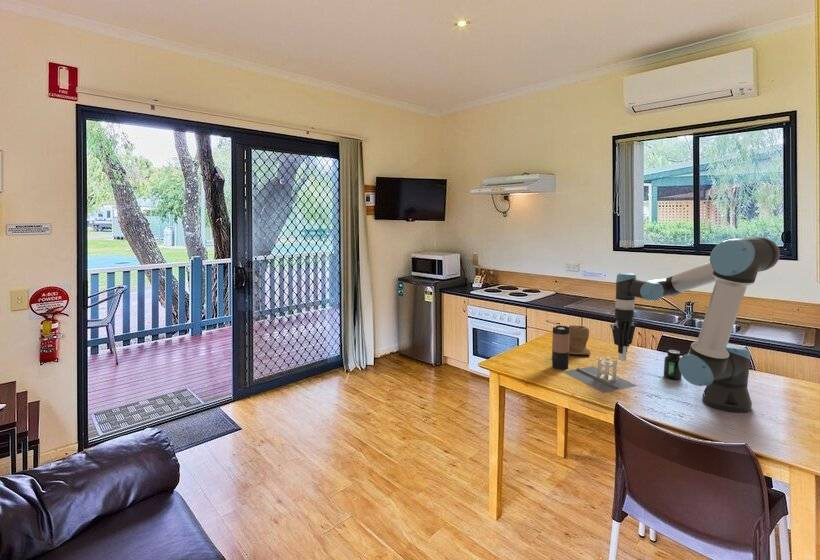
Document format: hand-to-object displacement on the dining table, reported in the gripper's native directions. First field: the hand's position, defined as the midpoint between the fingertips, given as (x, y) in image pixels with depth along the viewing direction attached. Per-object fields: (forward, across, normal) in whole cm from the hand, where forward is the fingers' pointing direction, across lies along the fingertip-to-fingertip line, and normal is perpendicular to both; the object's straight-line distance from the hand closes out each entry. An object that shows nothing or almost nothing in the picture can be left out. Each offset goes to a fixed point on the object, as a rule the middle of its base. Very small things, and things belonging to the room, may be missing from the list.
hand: (622, 359), depth 191 cm
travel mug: (+8, +18, -20) cm, 28 cm away
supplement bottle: (+8, -20, +9) cm, 23 cm away
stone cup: (+8, -3, -35) cm, 36 cm away
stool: (+8, +8, 0) cm, 11 cm away
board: (+8, +11, -2) cm, 14 cm away
